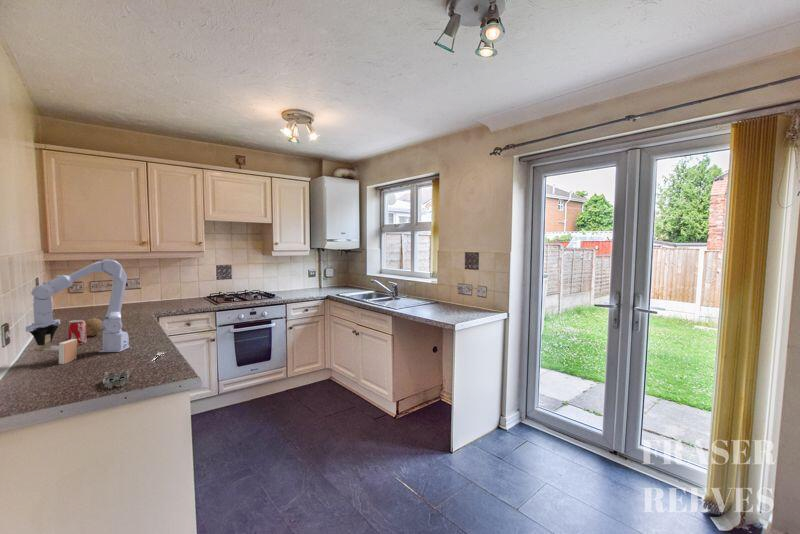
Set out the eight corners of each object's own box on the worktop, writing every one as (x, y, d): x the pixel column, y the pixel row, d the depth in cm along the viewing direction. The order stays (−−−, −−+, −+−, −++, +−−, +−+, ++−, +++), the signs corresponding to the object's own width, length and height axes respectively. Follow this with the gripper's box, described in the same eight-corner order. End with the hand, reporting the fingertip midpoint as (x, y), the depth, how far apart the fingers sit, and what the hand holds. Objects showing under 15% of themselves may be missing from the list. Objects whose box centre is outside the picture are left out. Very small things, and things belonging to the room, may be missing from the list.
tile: (76, 358, 158) (77, 339, 157) (63, 364, 151) (64, 343, 150) (71, 358, 158) (72, 338, 157) (58, 363, 151) (59, 343, 150)
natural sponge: (105, 333, 202) (105, 315, 201) (103, 336, 194) (103, 318, 194) (84, 335, 197) (84, 317, 196) (82, 338, 189) (81, 320, 189)
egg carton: (106, 381, 134) (105, 370, 134) (130, 377, 138) (130, 367, 138) (101, 390, 125) (101, 379, 125) (128, 386, 130) (128, 375, 129)
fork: (138, 372, 145) (137, 367, 145) (157, 356, 164) (157, 352, 164) (147, 371, 146) (146, 367, 146) (165, 355, 165) (165, 351, 165)
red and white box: (75, 346, 176) (74, 322, 175) (64, 345, 177) (63, 321, 177) (90, 342, 183) (89, 319, 182) (79, 341, 184) (78, 318, 183)
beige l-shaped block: (70, 346, 156) (69, 333, 156) (60, 350, 151) (60, 336, 151) (45, 346, 155) (44, 333, 155) (35, 350, 150) (34, 336, 150)
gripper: (47, 309, 159) (49, 339, 159) (16, 316, 144) (18, 349, 145) (64, 309, 159) (66, 339, 160) (35, 316, 145) (37, 348, 146)
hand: (44, 343), depth 153 cm, fingers closed on beige l-shaped block, 3 cm apart
